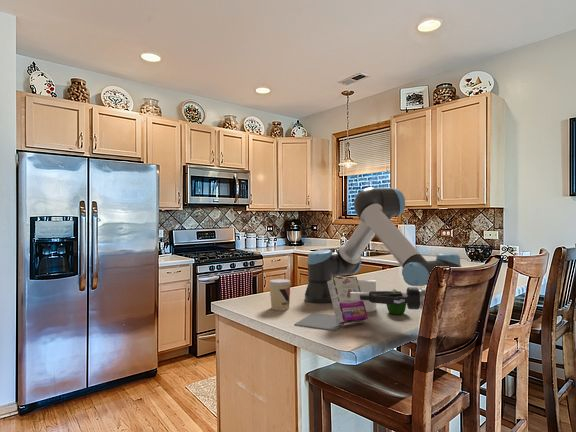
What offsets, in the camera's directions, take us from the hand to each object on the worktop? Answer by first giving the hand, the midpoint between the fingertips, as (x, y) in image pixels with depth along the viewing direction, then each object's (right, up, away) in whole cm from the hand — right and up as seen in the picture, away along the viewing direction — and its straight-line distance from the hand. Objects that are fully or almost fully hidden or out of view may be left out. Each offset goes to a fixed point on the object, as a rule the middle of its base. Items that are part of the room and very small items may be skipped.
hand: (350, 296), depth 128 cm
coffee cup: (-26, -12, +27) cm, 39 cm away
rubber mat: (-9, -11, +6) cm, 15 cm away
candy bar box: (+1, -10, +1) cm, 10 cm away
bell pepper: (+21, -11, +16) cm, 29 cm away
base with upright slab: (+11, -11, +24) cm, 28 cm away
